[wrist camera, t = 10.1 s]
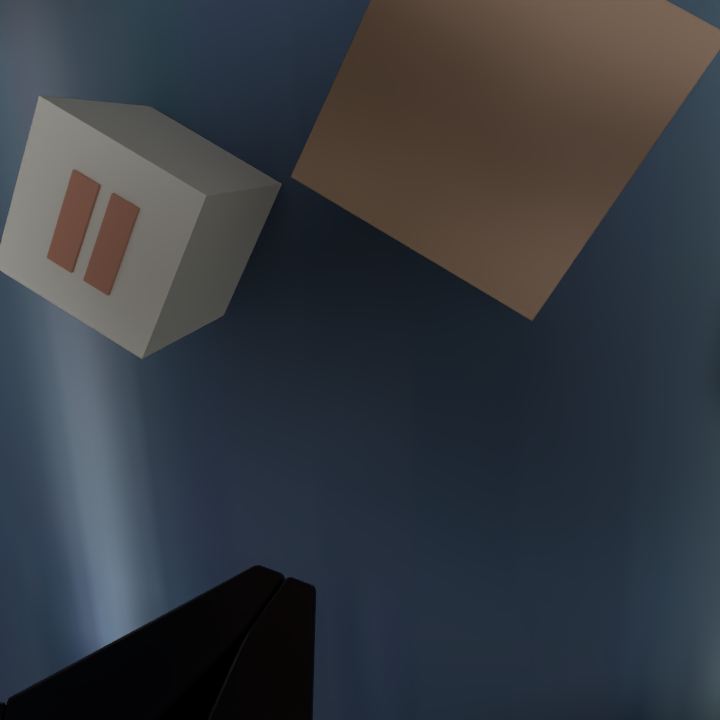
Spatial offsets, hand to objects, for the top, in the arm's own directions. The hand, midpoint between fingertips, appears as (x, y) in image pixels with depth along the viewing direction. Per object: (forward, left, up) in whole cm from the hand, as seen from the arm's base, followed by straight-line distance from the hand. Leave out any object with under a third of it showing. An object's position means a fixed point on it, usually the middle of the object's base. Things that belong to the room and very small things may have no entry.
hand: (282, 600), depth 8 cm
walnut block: (+6, 0, -13) cm, 15 cm away
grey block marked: (+1, +9, -13) cm, 16 cm away
